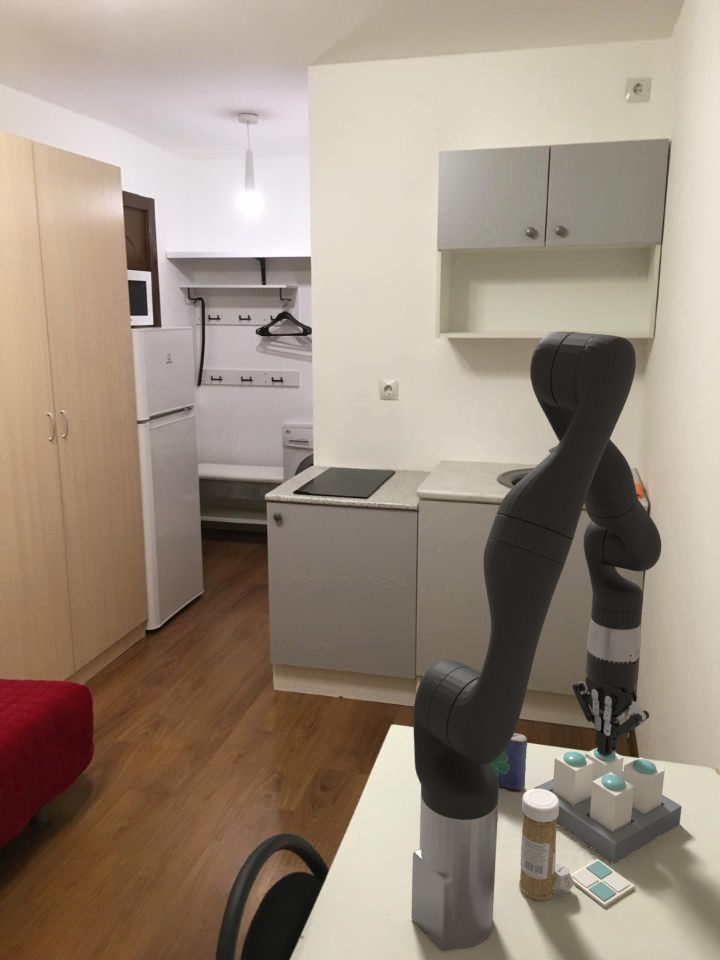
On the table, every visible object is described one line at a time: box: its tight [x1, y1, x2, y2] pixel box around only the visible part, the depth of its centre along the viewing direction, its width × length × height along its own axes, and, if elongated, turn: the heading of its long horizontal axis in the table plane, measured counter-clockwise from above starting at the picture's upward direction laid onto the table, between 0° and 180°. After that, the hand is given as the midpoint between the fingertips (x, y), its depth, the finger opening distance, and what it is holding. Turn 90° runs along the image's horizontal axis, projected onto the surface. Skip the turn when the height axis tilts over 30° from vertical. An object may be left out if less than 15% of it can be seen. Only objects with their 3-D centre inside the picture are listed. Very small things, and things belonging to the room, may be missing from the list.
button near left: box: [552, 749, 594, 807], centre depth 114 cm, size 4×4×6 cm
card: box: [570, 858, 635, 908], centre depth 100 cm, size 6×6×1 cm
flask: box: [489, 732, 528, 793], centre depth 121 cm, size 9×3×11 cm, turn 61°
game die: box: [552, 863, 575, 897], centre depth 99 cm, size 4×4×3 cm
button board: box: [533, 770, 682, 864], centre depth 114 cm, size 15×15×3 cm
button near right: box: [590, 772, 634, 833], centre depth 108 cm, size 4×4×6 cm
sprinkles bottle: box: [518, 788, 559, 901], centre depth 98 cm, size 5×5×13 cm
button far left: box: [584, 747, 624, 781], centre depth 118 cm, size 4×4×6 cm
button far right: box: [623, 756, 665, 815], centre depth 112 cm, size 4×4×6 cm
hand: (605, 752), depth 117 cm, fingers closed
